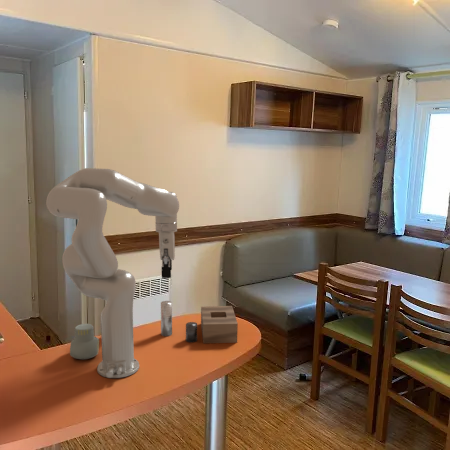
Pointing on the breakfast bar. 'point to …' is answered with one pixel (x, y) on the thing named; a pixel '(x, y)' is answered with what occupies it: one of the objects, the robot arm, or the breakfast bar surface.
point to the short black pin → (191, 332)
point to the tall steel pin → (166, 318)
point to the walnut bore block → (218, 324)
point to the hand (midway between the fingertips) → (166, 273)
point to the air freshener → (84, 342)
